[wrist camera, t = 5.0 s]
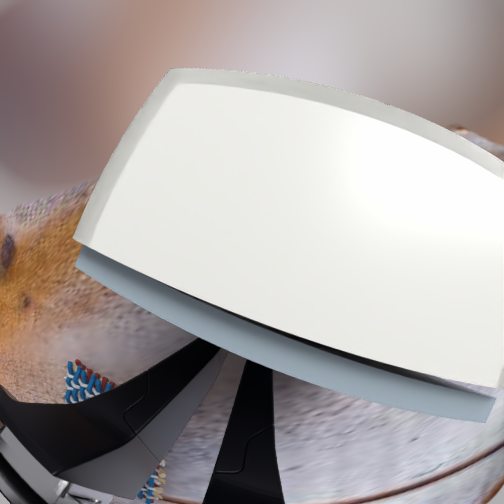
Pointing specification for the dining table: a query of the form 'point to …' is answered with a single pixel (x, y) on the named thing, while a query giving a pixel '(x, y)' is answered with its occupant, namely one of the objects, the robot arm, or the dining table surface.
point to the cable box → (313, 218)
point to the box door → (289, 348)
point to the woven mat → (90, 386)
